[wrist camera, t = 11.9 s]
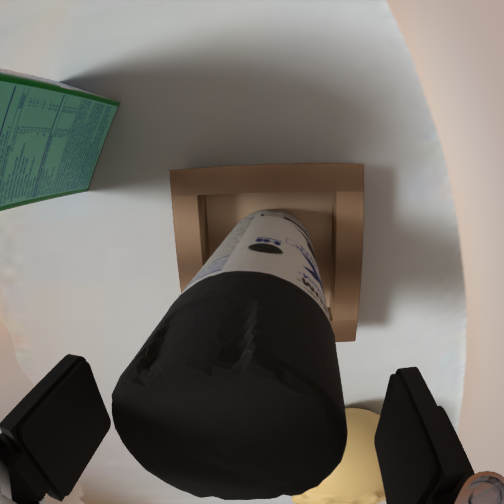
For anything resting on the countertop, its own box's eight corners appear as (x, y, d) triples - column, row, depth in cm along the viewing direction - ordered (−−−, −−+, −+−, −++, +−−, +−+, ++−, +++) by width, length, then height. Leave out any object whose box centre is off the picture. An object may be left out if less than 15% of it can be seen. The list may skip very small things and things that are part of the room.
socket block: (184, 169, 26) (169, 170, 23) (353, 163, 25) (363, 163, 21) (198, 321, 30) (187, 340, 27) (348, 321, 28) (355, 341, 25)
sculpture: (289, 460, 34) (285, 529, 24) (299, 394, 31) (299, 475, 21) (375, 458, 33) (388, 523, 23) (401, 392, 30) (429, 464, 20)
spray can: (318, 279, 26) (359, 497, 7) (239, 293, 28) (160, 503, 8) (302, 199, 25) (347, 321, 6) (219, 218, 26) (63, 355, 7)
